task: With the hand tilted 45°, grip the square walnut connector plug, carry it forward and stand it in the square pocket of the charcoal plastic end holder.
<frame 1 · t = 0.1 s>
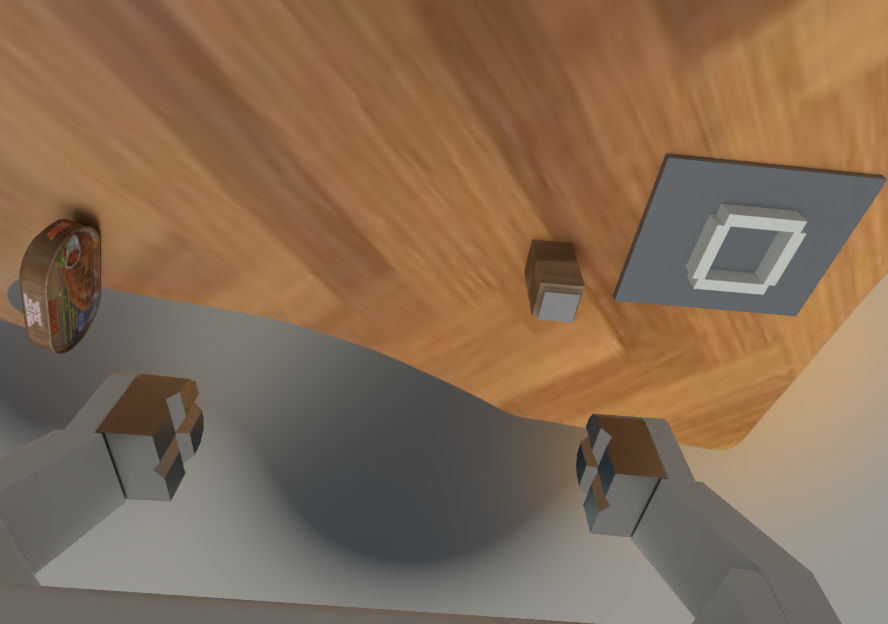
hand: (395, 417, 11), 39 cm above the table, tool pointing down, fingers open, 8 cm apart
tin: (86, 263, 57), on the table
end holder: (735, 240, 53), on the table
plug: (547, 258, 55), on the table
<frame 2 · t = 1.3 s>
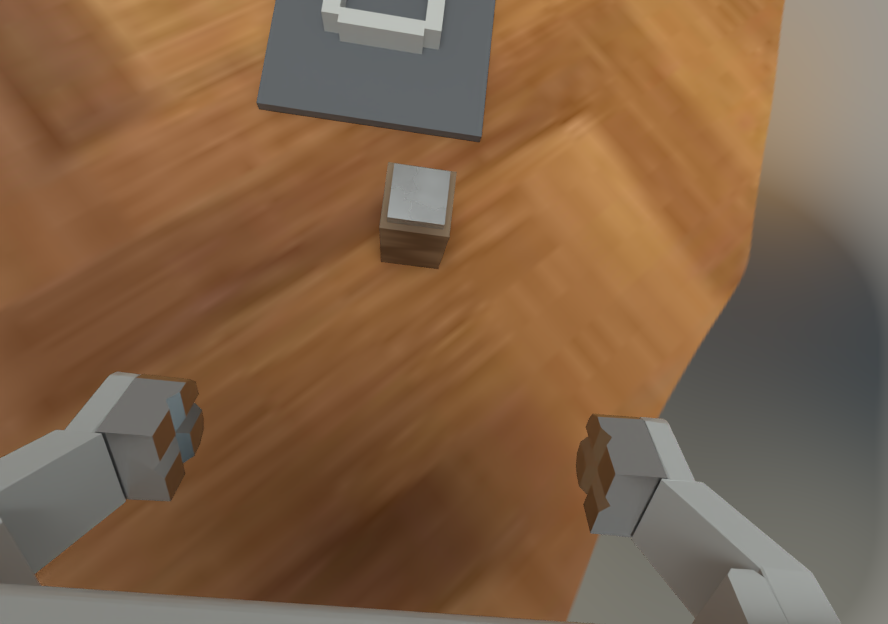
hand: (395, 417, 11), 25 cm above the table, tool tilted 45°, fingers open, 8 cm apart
end holder: (388, 5, 41), on the table
plug: (412, 238, 38), on the table
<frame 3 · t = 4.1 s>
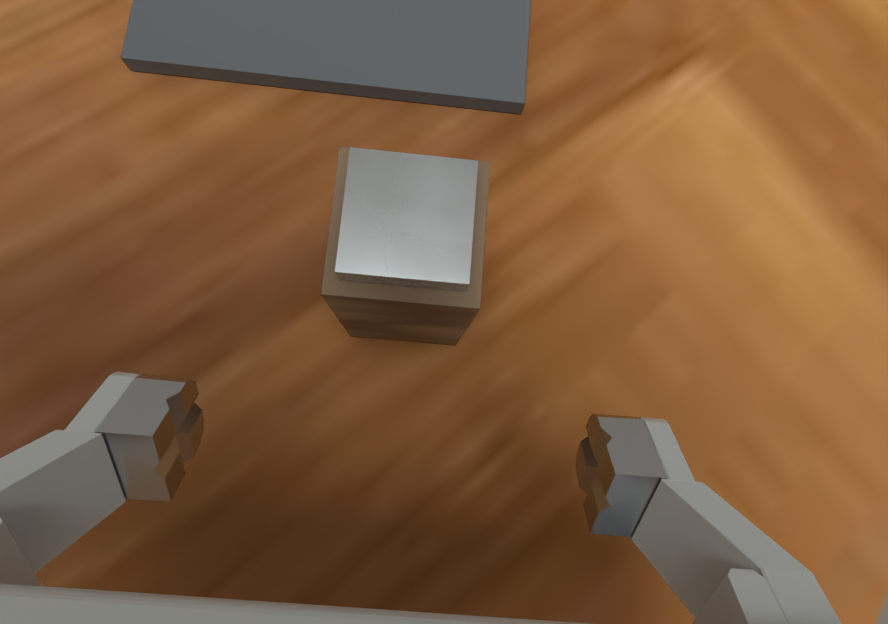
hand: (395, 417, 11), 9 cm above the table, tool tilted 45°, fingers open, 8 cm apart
plug: (407, 290, 21), on the table
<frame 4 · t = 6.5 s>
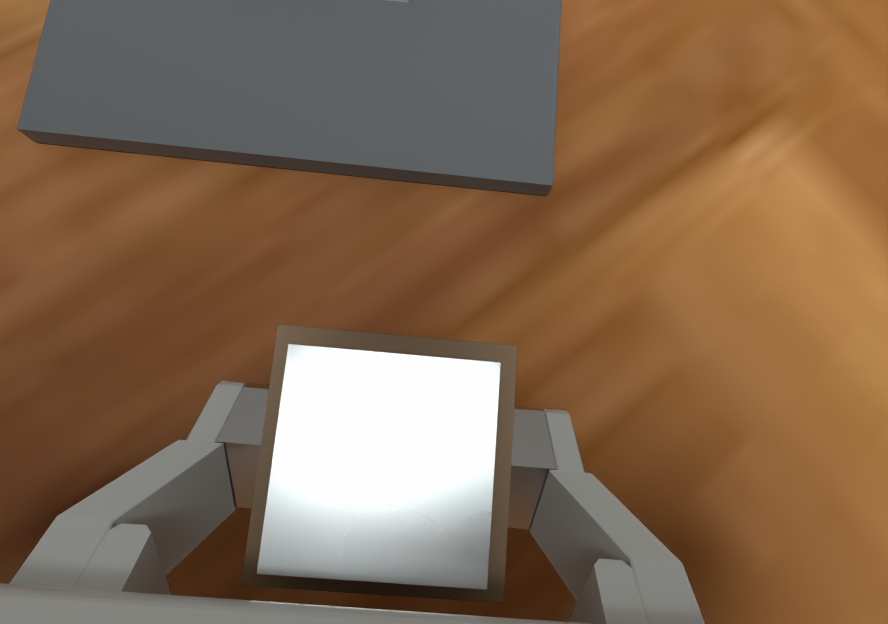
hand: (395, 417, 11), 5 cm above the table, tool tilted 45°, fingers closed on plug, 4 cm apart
plug: (397, 439, 16), on the table, touching gripper
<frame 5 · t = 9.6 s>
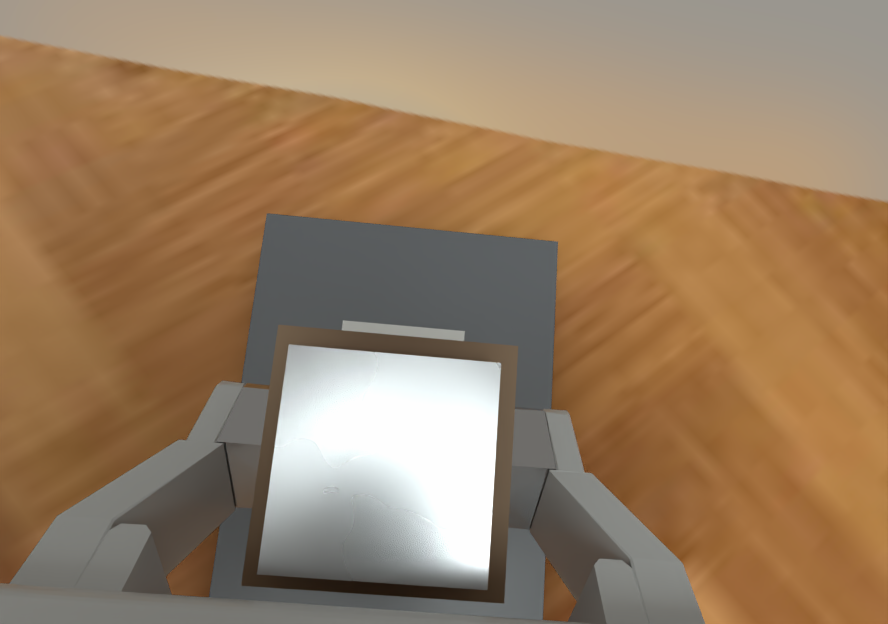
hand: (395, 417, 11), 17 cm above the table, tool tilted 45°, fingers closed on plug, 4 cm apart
end holder: (397, 412, 28), on the table
plug: (397, 439, 16), point 13 cm above the table, touching gripper
when the fingers open (6 cm above the table, at t = 12.6 s): plug stays where it is, resting on end holder.
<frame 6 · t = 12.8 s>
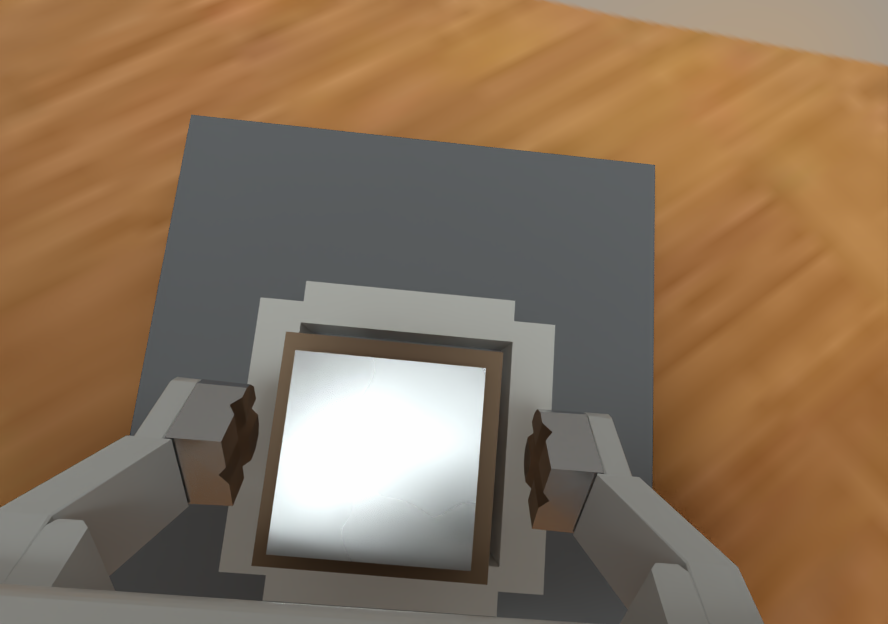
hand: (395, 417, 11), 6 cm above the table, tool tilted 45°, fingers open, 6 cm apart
end holder: (399, 436, 17), on the table
plug: (396, 437, 17), point 1 cm above the table, touching end holder
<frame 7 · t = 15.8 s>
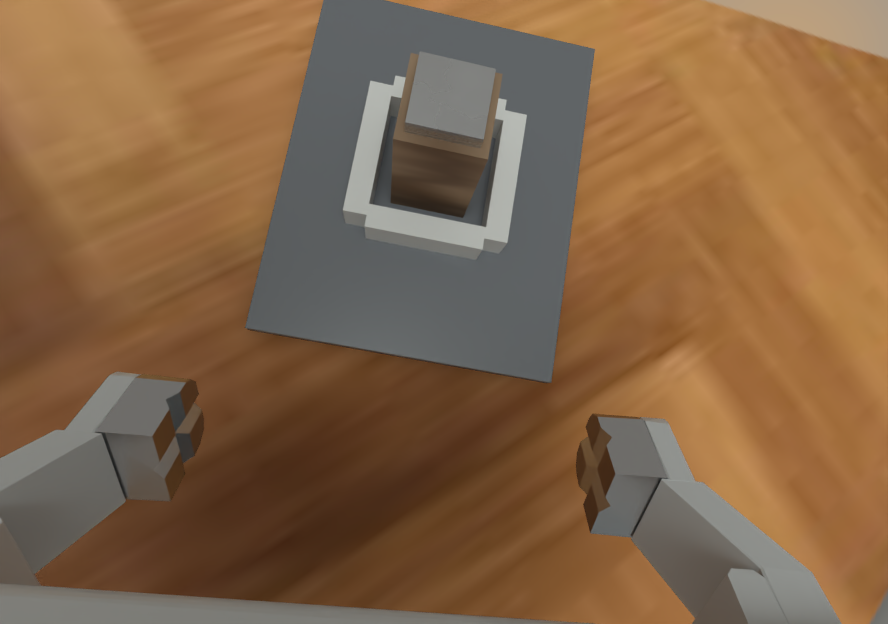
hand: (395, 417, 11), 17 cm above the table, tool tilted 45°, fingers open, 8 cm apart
end holder: (433, 182, 30), on the table
plug: (433, 176, 30), point 1 cm above the table, touching end holder
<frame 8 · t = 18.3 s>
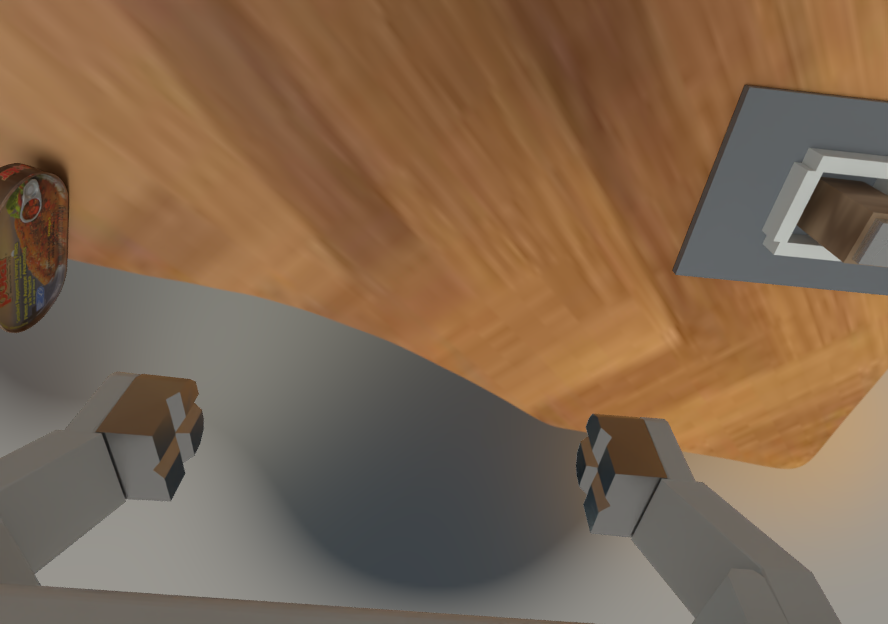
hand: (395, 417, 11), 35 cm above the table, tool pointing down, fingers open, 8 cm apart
tin: (51, 228, 48), on the table
end holder: (820, 199, 45), on the table
plug: (826, 202, 44), point 1 cm above the table, touching end holder
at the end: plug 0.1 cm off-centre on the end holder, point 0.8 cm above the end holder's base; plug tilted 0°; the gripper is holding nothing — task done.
